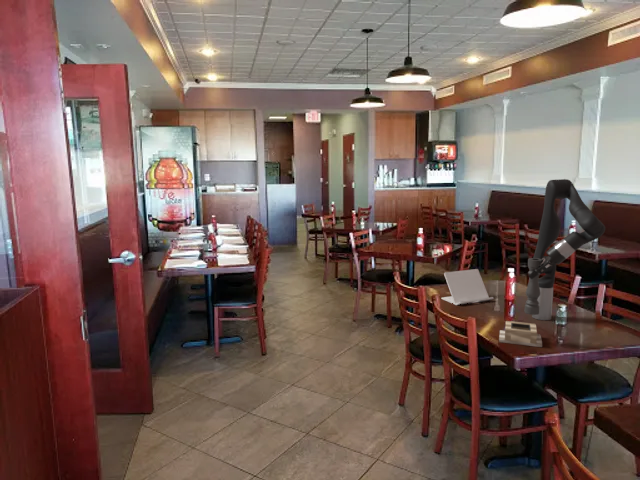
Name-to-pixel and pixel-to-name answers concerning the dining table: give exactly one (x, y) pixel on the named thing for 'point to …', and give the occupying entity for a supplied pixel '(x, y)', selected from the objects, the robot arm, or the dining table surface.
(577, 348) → the dining table surface
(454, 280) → the grey laptop
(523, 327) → the socket
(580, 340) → the dining table surface
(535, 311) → the candle holder
